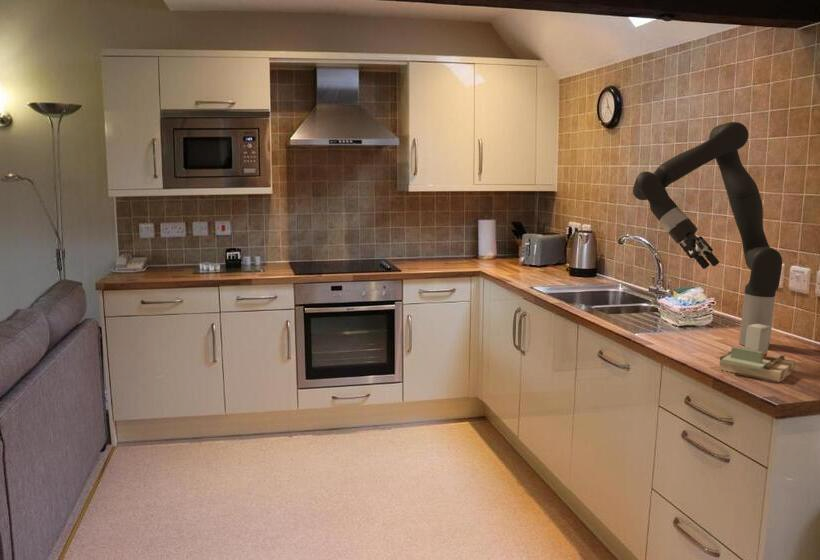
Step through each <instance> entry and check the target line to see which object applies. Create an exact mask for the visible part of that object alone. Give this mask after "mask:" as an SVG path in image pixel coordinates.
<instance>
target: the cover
mask: <svg viewBox="0 0 820 560" xmlns="http://www.w3.org/2000/svg"><path fill="white" fill-rule="evenodd" d="M730 351H731V354H730V355H728V356H726V357H724V358H723V359H722V362H726V363H730V364H735V365H740V366H745V367H750V368H755V369H760V370H762V369H763V368H765V367H766V365H768V364H769V363H771V361H769V360H764V359H763V353H764V352H761V351H756V350H750V349H745V347H739V346H732V347H731V350H730Z"/></svg>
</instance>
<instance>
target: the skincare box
mask: <svg viewBox="0 0 820 560" xmlns="http://www.w3.org/2000/svg"><path fill="white" fill-rule="evenodd" d="M770 328H771V326H767V325H762V324H752V325H749V326H747V333H746V342H745V346H744V348H745V349H750V350H756V351H761V352H764V353H763V359H764V360H766V358H767V356H768V349H769V347H768V343H769V336H770Z"/></svg>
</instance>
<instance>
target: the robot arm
mask: <svg viewBox="0 0 820 560" xmlns="http://www.w3.org/2000/svg"><path fill="white" fill-rule="evenodd" d="M708 138H709V139H708V140H706V141H704V142H702V143H700V144H698V145H696V146H695V147H692V148H690V149H687V150H684V151H683V152H681V153H679V154H677V155H675V156H673V157H671V158H669V159H668V160H667V161H664V162H663V163H662V164H660V165H659V166H658V167H657V168H656V169H655V171H654V172H651V171H643V172H640V173H639V174H638V175H637V176H636V178H635V182H634V184H633V187H632V194H633V195H634V198H636V199H637V200H639V201H647V202H648V203H649V209H650V211H651V213H652V214H653V215H654V217H655V218H656V219H657V220H658V221H659V222H660V224H661V226H662V227H663V229H664V230H665V231H666V233H667V234H668V235H669V236H670V237H671V239H672V240H673V241H674V243H675V244H678V245H679V246H680V247H681V248H682V250H683V251H684V252H685V254H686V255H687V257H689V258H690V259H692V260H693V261H696V262H697V264H698V265H699V266H700V267H701V268H702V269H703V270H705V269H707V268H708V267H710V264H711V266H712V267H716V266H717V265H719V263H720V261H719V259H718V258H717V257H716V256H715V254H714V253H713V252H714V249H713V248H712V247H711V245H709V243H708V242H707V241H706V240H705V239H704V238H703V236H701V235H700V236H699V237H697V235H696V233H697V231H698V227H697V226H696V225H695V224H694V223H693V221H692V220H691V219H690V218H689V217H688V216H687V214H686V213H685V212H684V211H683V210H682V209H681V208H680V207H679V206H678V205H677V204H676V203H675V202H674V201H673V199H672V198H671V197H670V195H669V193H668V191H667V190H666V188H668V187H669V186H670V185H671V184H673V183H675V182H678V181H679V180H680V179H682V178H684V177H685V176H687V175H689V174H691V173H692V172H694V171H695V170H697V169H699V168H700V167H702V166H704V165H706V164H708V163H709V162H711V161H714V160H716V163H717V166H718V169H719V171H720V174H721V177H722V181H723V184H724V187H725V191H726V194H727V198H728V202H729V205H730V209H731V212H732V214H733V218H734V221H735V224H736V226H737V229H738V232H739V234H740V239H741V244H742V250H743V256H744V260H745V265H746V266H747V268H748V269H749V270H750V274H749V275H750V276H749V280H748V283H747V284H745V287H744V294H743V305H742V313H741V320H740V321H741V322H740V330H739V331H740V332H739V339H738V344H739V345H741V346H744V347H745V342H746V333H747V326H749V325H752V324H762V325H767V326H771V328H770V336H769V343H768V348H769V347H770V342H771V337H772V335H771V334H772V329H773V328H772V327H773V319H774V310H775V302H776V295H777V291H778V288H779V287H780V281H781V276H782V269H783V258H782V255H781V253H780V252H779V251H778V250H777V249H774V248H772V247H770V244H769V242H768V240H767V237H766V234H765V231H764V206H763V200H762V198H761V193H760V191H759V187H758V185H757V183H756V181H755V180H754V178H753V177H752V175H750V173H749V172H748V171H747V170H746V168H745V166H744V165H743V163H742V161H741V158H740V155H739V151H738V150H740V149H742V148H743V147H744V146H745V145H746V144H747V142H748V140H749V129H748V128H747V127H746V126H745V125H744V124H743V123H741V122H737V121H733V122H732V121H731V122H726V123H722V124H719V125H717V126H714V127H713V128H712V130H711V131H710V133H709V137H708Z"/></svg>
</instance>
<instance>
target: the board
mask: <svg viewBox="0 0 820 560" xmlns="http://www.w3.org/2000/svg"><path fill="white" fill-rule="evenodd" d="M730 354H731V350H730V351H729V352H726V353H725V354H723V355H721V356H720V358H719V366H718V370H719V371H721V370H723V371H722V372H726V371H728V372H727V373H730V372H733V373H732V374H735V373H737V374H736V375H741V376H745V377H748V378H749V377H751V378H755V379H759V380H765V381H768V382H772V383H773V382H774V383H778V384H779V383H780V382H782V381H783V380H785V379H786V378H787V377H789V376H790V375H791V374H793V373H794V372H795V369H796V361H795V360H790V359H785V357H786V356H785V355H780V356H778V357H774V356H769V355H767V358H766V360H769V361H771V363H769V364H768V365H766V367H765V368H763V369H762V370H760V369H755V368H750V367H745V366H740V365H735V364H730V363H726V362H722V359H723V358H724V357H726V356H728V355H730Z"/></svg>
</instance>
